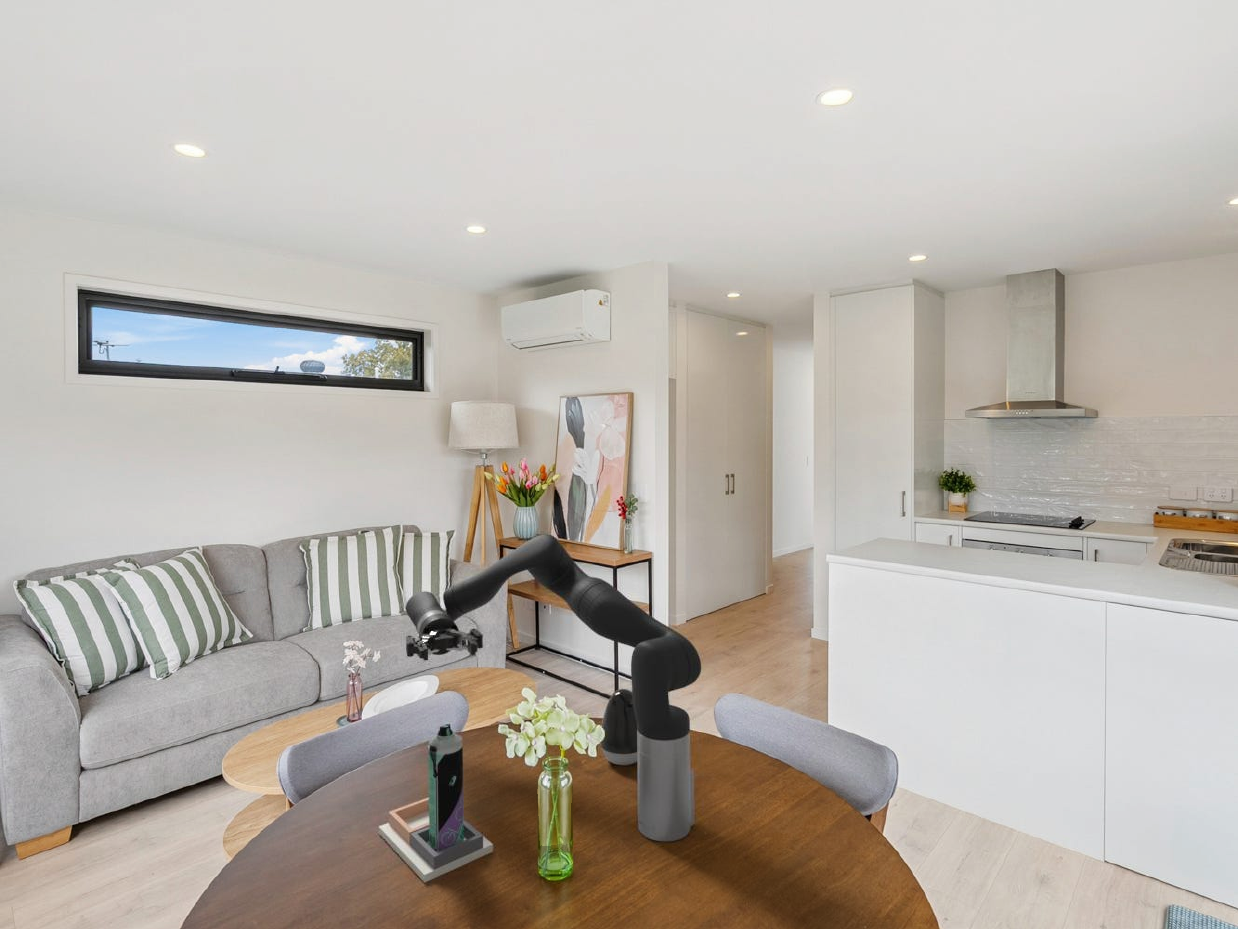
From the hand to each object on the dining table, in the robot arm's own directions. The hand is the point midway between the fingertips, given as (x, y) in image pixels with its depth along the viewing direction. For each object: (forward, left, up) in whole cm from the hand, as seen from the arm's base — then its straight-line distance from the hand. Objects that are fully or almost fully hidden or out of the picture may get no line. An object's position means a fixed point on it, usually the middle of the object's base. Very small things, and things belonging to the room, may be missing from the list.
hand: (450, 652), depth 123 cm
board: (+7, +8, -29) cm, 31 cm away
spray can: (+7, +12, -28) cm, 32 cm away
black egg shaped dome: (-37, +7, -29) cm, 48 cm away
